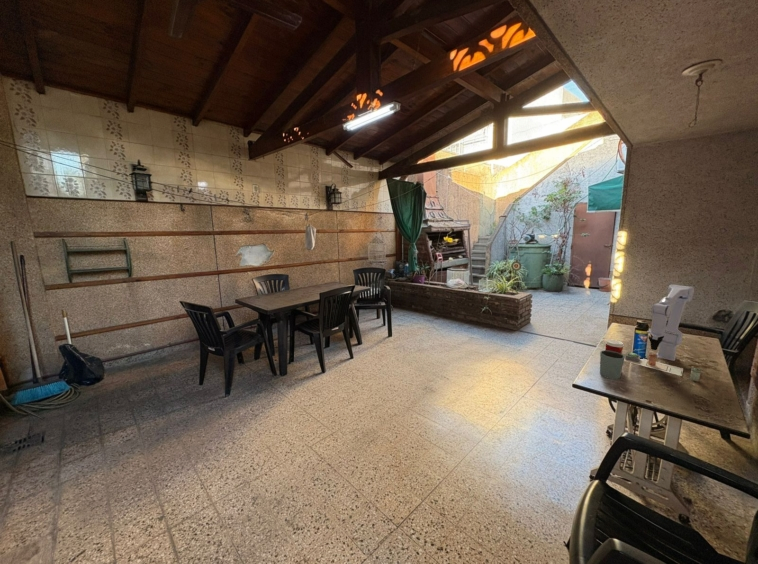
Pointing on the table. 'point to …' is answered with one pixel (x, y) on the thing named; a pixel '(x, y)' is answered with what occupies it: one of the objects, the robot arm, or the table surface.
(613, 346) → the coffee cup
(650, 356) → the brown rounded cylinder
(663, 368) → the white flat panel
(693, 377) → the sage marker
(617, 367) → the green round bin
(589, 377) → the table surface
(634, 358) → the button housing
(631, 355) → the button
